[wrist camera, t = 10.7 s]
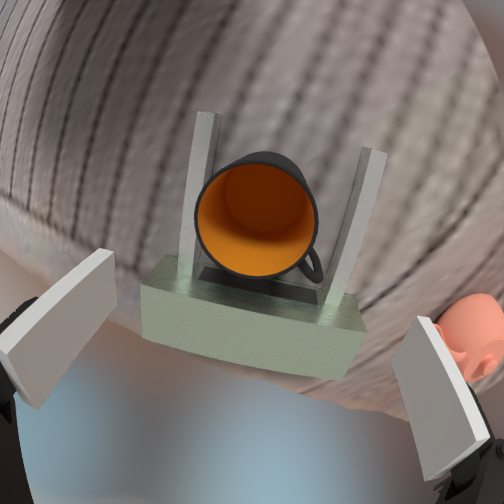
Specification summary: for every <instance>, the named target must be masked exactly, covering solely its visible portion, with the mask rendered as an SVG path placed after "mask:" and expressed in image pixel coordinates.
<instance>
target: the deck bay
mask: <svg viewBox="0 0 504 504" xmlns="http://www.w3.org/2000/svg"><path fill="white" fill-rule="evenodd" d="M221 118H222V115H220V114H217V113H212V112H204V111H198V112H197V118H196V123H195V129H194V135H193V141H192V147H191V154H190V160H189V167H188V174H187V182H186V189H185V197H184V205H183V214H182V223H181V233H180V243H179V255H178V257H175V256H171V255H165V257H164V258H163V259H162V260H161V261H160V262H159V263H158V264H157V266H156V267H155V268H154V269H153V270H152V271H151V272H150V273H149V275H148V276H147V277H146V278H145V279H144V280H143V281H142V283H141V284H140V298H141V325H142V338H143V339H146V340H149V341H152V342H156V343H159V344H162V345H166V346H169V347H173V348H176V349H180V350H183V351H187V352H191V353H194V354H198V355H202V356H206V357H210V358H214V359H219V360H223V361H227V362H232V363H236V364H241V365H246V366H251V367H256V368H261V369H266V370H271V371H277V372H283V373H289V374H295V375H302V376H309V377H316V378H324V379H332V380H342V378H343V377H344V375H345V373H346V371H347V370H348V368H349V366H350V364H351V363H352V361H353V359H354V357H355V355H356V353H357V352H358V350H359V348H360V346H361V344H362V342H363V340H364V338H365V336H366V334H367V330H366V327H365V325H364V322H363V319H362V316H361V313H360V310H359V308H358V305H357V302H356V300H355V297H354V295H351V294H346V293H344V292H345V289H346V286H347V284H348V281H349V278H350V276H351V273H352V270H353V268H354V265H355V262H356V259H357V256H358V253H359V250H360V248H361V245H362V242H363V239H364V236H365V233H366V229H367V226H368V223H369V220H370V217H371V213H372V210H373V207H374V203H375V200H376V197H377V193H378V189H379V186H380V182H381V179H382V175H383V171H384V167H385V163H386V159H387V155H388V154H387V153H384V152H381V151H378V150H375V149H372V148H367V147H363V149H362V153H361V158H360V162H359V166H358V170H357V174H356V177H355V181H354V185H353V189H352V193H351V196H350V200H349V203H348V207H347V210H346V214H345V217H344V221H343V224H342V228H341V231H340V234H339V237H338V241H337V244H336V247H335V250H334V253H333V256H332V260H331V263H330V266H329V269H328V272H327V275H326V278H325V281H324V283H323V286H322V289H321V288H316V287H311V286H306V285H302V284H297V283H292V282H287V281H282V280H278V279H273V278H269V279H260V280H256V279H246V278H242V277H238V276H235V275H233V274H231V273H228V272H227V271H225V270H223V269H222V268H220V267H218V266H214V265H210V264H205V263H201V262H199V261H200V253H201V245H200V243H199V240H198V238H197V235H196V231H195V226H194V210H195V204H196V201H197V198H198V196H199V193H200V192H201V190H202V188H203V186H204V185H205V184H206V182H207V181H208V180H209V179H210V178H211V176H212V170H213V163H214V158H215V152H216V146H217V140H218V135H219V129H220V124H221Z"/></svg>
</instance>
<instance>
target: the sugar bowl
mask: <svg viewBox="0 0 504 504" xmlns="http://www.w3.org/2000/svg"><path fill="white" fill-rule="evenodd" d="M433 325H434V326H435V328H436V330H437V331H438V333H439V335H440V336H441V338H442V340H443V342H444V343H445V345H446V347H447V349H448V350H449V352H450V354H451V356H452V357H453V359H454V361H455V363H456V365H457V367H458V369H459V370H460V372H461V374H462V376H463V378H464V380H465V381H466V382H473V381H477V380H479V379H481V378H483V377H485V376H487V375H489V374H491V373H492V372H493V371H494V370H495V369H496V367H497V365H498V363H499V362H500V361H501V359H502V357H503V355H504V314H503V312H502V309H501V307H500V306H499V304H498V302H497V301H496V300H495V299H494V298H493V297H492V296H490V295H487V294H483V293H477V294H472V295H468V296H466V297H463V298H461V299H459V300H458V301H456V302H454V303H453V304H452V305H451V306H450V307H449V308H448V309H447V310H446V311H445V312H444V313H443V314H442V316H441V317H440V319H439V320H438V322H437V324H433Z"/></svg>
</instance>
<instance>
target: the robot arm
mask: <svg viewBox="0 0 504 504" xmlns="http://www.w3.org/2000/svg"><path fill="white" fill-rule="evenodd" d="M116 306H117V294H116V280H115V260H114V252H113V251H109V250H105V249H101V248H99V249H98V250H96V251H95V252H94V253H93V254H91V255H90V256H89V257H87V258H86V259H85V260H84V261H82V262H81V263H80V264H79V265H77V266H76V267H75V268H74V269H72V270H71V271H70V272H69V273H68V274H66V275H65V276H64V277H63V278H62V279H60V280H59V281H58V282H57V283H56V284H54V285H53V286H52V287H51V288H50V289H49V290H48V291H47V292H45V293H44V294H43V295H42V296H41V297H40V298H38V297H34V298H32V299H30V300H28V301H25V302H24V303H23V304H22V305H21V306H19V308H17V309H16V312H13V313H12V314H11V315H10V316H9V318H6V319H5V320H4V322H2V323H1V324H0V504H34V502H33V499H32V496H31V492H30V488H29V485H28V481H27V477H26V473H25V468H24V464H23V459H22V454H21V447H20V441H19V434H18V427H17V418H16V407H15V400H14V397H13V395H14V393H15V392H16V391H17V392H18V394H19V396H20V397H21V399H22V400H23V401H24V402H25V403H26V404H28V405H29V406H31V407H32V408H34V409H36V410H37V411H38V410H39V409H40V407H41V406H42V404H43V403H44V401H45V400H46V398H47V397H48V396H49V394H50V393H51V391H52V390H53V388H54V387H55V386H56V384H57V383H58V381H59V380H60V379H61V377H62V376H63V374H64V373H65V372H66V370H67V369H68V367H69V366H70V365H71V364H72V362H73V361H74V359H75V358H76V357H77V356H78V354H79V353H80V352H81V350H82V349H83V348H84V346H85V345H86V344H87V342H88V341H89V340H90V339H91V337H92V336H93V335H94V333H95V332H96V331H97V330H98V328H99V327H100V326H101V325H102V323H103V322H104V321H105V320H106V318H107V317H108V316H109V315H110V313H111V312H112V311H113V310H114V309H115V307H116ZM390 362H391V365H392V368H393V370H394V373H395V376H396V379H397V382H398V385H399V388H400V391H401V395H402V398H403V401H404V404H405V407H406V411H407V414H408V417H409V421H410V424H411V428H412V432H413V435H414V438H415V443H416V447H417V450H418V454H419V458H420V463H421V467H422V471H423V476H424V481H428V480H432V479H437V478H440V477H441V476H443V475H444V474H446V473H447V472H448V471H450V470H451V474H452V475H451V476H450V477H448V478H447V479H445V480H444V481H442V482H441V483H439V484H438V485H436V486H435V488H434V491H435V490H437V489H438V488H440V487H441V486H443V485H444V486H443V488H442V489H440V490H439V491H438V493H440V495H439V498H438V500H437V502H436V504H504V440H503V439H495V437H494V435H493V433H492V430H491V428H490V425H489V423H488V421H487V418H486V416H485V414H484V412H483V411H482V407H481V405H480V403H478V399H477V397H476V395H475V393H474V391H473V390H472V388H471V387H470V386H469V385H468V384H467V383H466V382H465V380H464V378H463V376H462V374H461V372H460V370H459V369H458V367H457V365H456V363H455V361H454V359H453V357H452V356H451V354H450V352H449V350H448V349H447V347H446V345H445V343H444V342H443V340H442V338H441V336H440V335H439V333H438V331H437V330H436V328H435V326H434V325H433V323H432V321H431V320H430V318H428V317H422V316H416V317H415V319H414V321H413V323H412V325H411V327H410V328H409V330H408V332H407V334H406V335H405V337H404V339H403V341H402V342H401V344H400V346H399V347H398V349H397V351H396V352H395V354H394V355H393V357H392V359H391V360H390Z"/></svg>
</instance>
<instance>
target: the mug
mask: <svg viewBox="0 0 504 504" xmlns="http://www.w3.org/2000/svg"><path fill="white" fill-rule="evenodd" d="M318 224H319V221H318V211H317V207H316V203H315V200H314V198H313V195H312V193H311V191H310V189H309V187H308V185H307V183H306V180H305V178H304V176H303V174H302V172H301V171H300V169H299V168H298V167H297V166H296V165H295V164H294V163H293V162H292V161H291V160H290V159H288V158H287V157H285V156H283V155H280V154H278V153H274V152H265V151H262V152H255V153H252V154H249V155H247V156H245V157H243V158H241V159H239V160H237V161H235V162H233V163H231V164H230V165H228V166H226V167H224V168H222V169H221V170H219V171H218V172H217V173H215V174H214V175H213V176H212V177H211V178H210V179H209V180H208V181H207V182H206V184H205V185H204V186H203V188H202V190H201V192H200V193H199V196H198V198H197V201H196V204H195V210H194V226H195V231H196V235H197V238H198V240H199V243H200V245H201V247H202V248H203V250H204V252H205V253H206V254H207V256H208V257H209V258H210V259H211V260H212V261H213V262H214V263H215V264H216V265H218V266H219V267H220V268H222V269H223V270H225V271H227V272H228V273H231V274H233V275H235V276H238V277H242V278H246V279H256V280H260V279H269V278H274V277H278V276H280V275H283V274H285V273H287V272H289V271H290V270H292V269H294V268H295V267H296V266H298V267H299V268H300V270H301V271H302V272H303V273H304V275H305V276H306V277H307V278H308V279H309V280H311V281H312V282H314V283H321V282H322V281H323V278H324V276H323V271H322V267H321V263H320V260H319V258H318V255H317V254H316V252H315V250H314V249H313V245H314V243H315V239H316V236H317V232H318ZM308 254H309V256H310V258H311V260H312V263H313V268H314V271H313V270H312V269H311V267H310V266H309V265H308V263H307V262H306V260H305V258H306V256H307V255H308Z"/></svg>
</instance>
